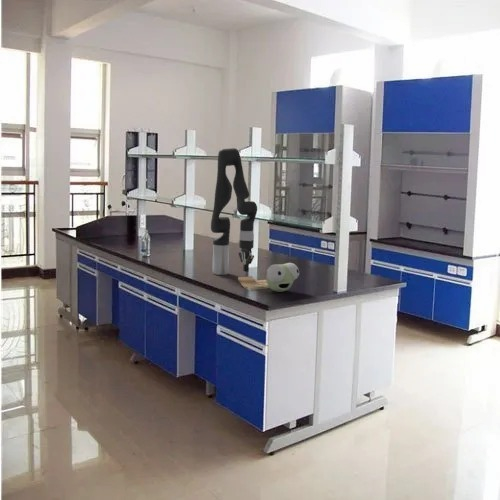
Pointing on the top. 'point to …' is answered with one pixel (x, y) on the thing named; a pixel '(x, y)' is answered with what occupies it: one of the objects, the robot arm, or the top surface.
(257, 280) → the plank far
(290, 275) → the toy
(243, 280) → the plank near
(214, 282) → the top surface
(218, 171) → the robot arm
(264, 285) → the laid strip
